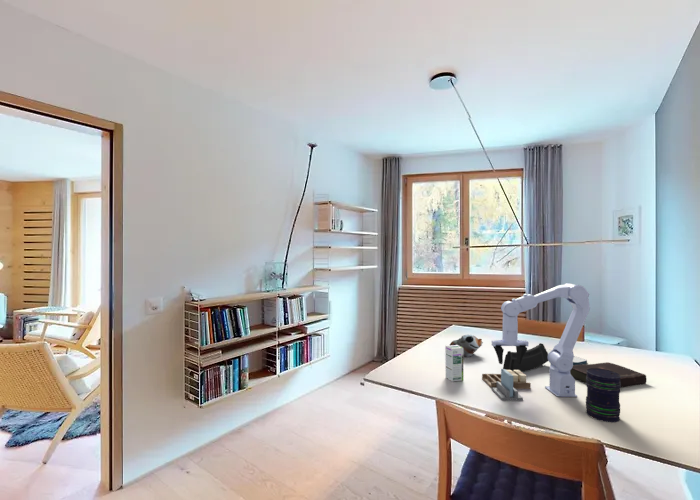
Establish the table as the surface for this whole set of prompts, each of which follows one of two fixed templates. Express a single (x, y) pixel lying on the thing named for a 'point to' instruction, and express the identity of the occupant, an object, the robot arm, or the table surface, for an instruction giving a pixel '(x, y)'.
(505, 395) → the holder
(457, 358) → the syrup box
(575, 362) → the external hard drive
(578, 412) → the table surface
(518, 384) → the rack
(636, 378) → the diary
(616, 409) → the storage jar
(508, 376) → the tall board
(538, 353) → the magazine
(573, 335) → the robot arm
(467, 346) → the lucky cat figurine
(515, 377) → the offcut
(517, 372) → the offcut
